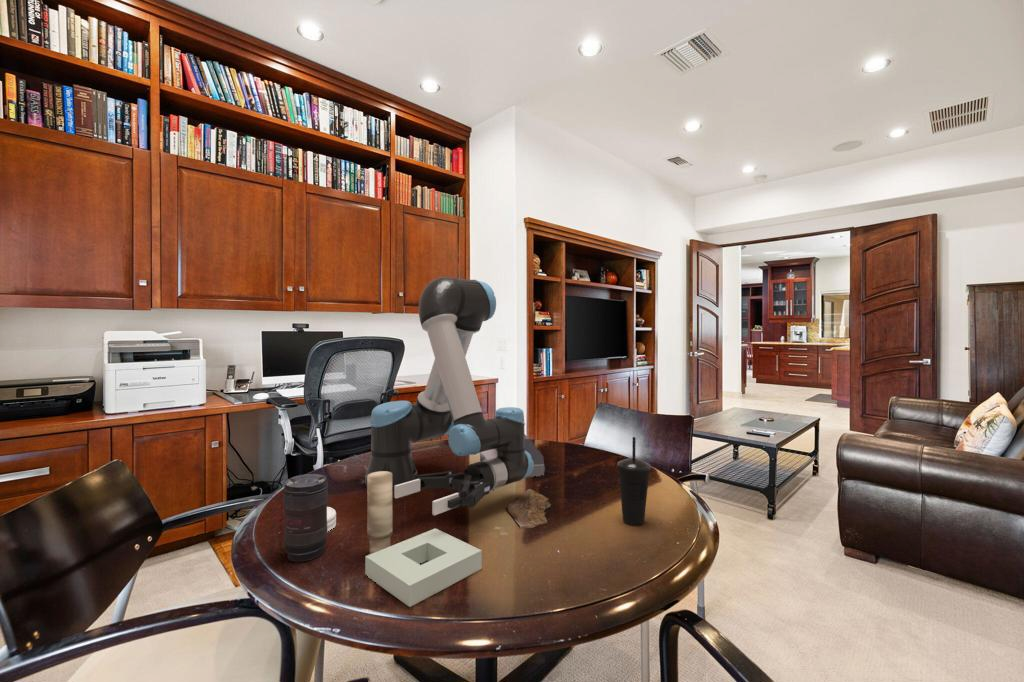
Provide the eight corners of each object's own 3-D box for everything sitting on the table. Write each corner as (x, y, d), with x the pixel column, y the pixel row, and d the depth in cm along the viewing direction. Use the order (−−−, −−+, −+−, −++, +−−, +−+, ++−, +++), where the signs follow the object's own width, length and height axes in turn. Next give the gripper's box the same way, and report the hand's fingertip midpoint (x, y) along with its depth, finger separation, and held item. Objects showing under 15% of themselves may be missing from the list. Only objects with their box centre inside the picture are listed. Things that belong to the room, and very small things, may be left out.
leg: (362, 554, 89) (362, 475, 89) (384, 546, 92) (384, 469, 92) (375, 563, 86) (375, 480, 85) (397, 553, 89) (397, 474, 89)
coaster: (288, 542, 94) (288, 526, 94) (287, 525, 103) (287, 509, 103) (338, 533, 99) (338, 517, 99) (333, 517, 108) (333, 502, 108)
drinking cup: (650, 517, 107) (651, 435, 107) (649, 530, 100) (650, 442, 100) (618, 513, 110) (619, 432, 109) (615, 525, 102) (615, 439, 102)
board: (365, 575, 81) (365, 556, 81) (435, 544, 93) (435, 528, 93) (409, 607, 72) (409, 585, 72) (481, 568, 84) (481, 550, 84)
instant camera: (478, 461, 155) (478, 418, 155) (537, 459, 157) (537, 417, 157) (481, 481, 134) (481, 431, 134) (548, 479, 136) (548, 430, 136)
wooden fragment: (546, 531, 100) (546, 526, 100) (498, 528, 102) (498, 523, 102) (553, 492, 125) (553, 488, 125) (514, 490, 127) (514, 486, 127)
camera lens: (282, 567, 84) (281, 488, 84) (285, 548, 91) (284, 476, 91) (328, 559, 87) (328, 483, 87) (327, 541, 94) (327, 471, 94)
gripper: (523, 504, 102) (451, 535, 86) (451, 480, 118) (381, 502, 102) (523, 471, 101) (451, 496, 86) (452, 452, 118) (381, 470, 102)
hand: (413, 499), depth 94 cm, fingers open, 13 cm apart
